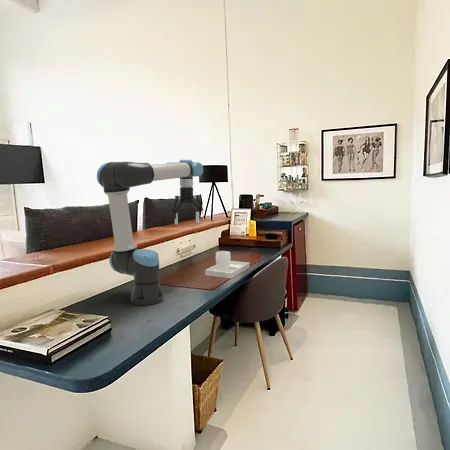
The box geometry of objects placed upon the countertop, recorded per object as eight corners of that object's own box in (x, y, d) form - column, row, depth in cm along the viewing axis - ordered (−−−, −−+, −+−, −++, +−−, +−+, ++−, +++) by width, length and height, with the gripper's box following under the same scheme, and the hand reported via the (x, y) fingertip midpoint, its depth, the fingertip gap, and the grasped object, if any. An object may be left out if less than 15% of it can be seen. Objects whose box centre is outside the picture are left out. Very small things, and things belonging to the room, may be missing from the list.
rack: (230, 278, 203) (230, 273, 203) (204, 275, 210) (204, 270, 210) (249, 267, 228) (249, 262, 227) (225, 264, 235) (225, 260, 235)
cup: (229, 274, 208) (229, 254, 206) (214, 273, 210) (214, 253, 208) (231, 270, 217) (231, 251, 215) (217, 269, 218) (217, 250, 217)
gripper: (202, 186, 214) (203, 221, 217) (163, 187, 201) (164, 224, 204) (208, 186, 207) (209, 222, 210) (168, 187, 195) (169, 225, 198)
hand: (187, 223), depth 207 cm, fingers open, 13 cm apart
